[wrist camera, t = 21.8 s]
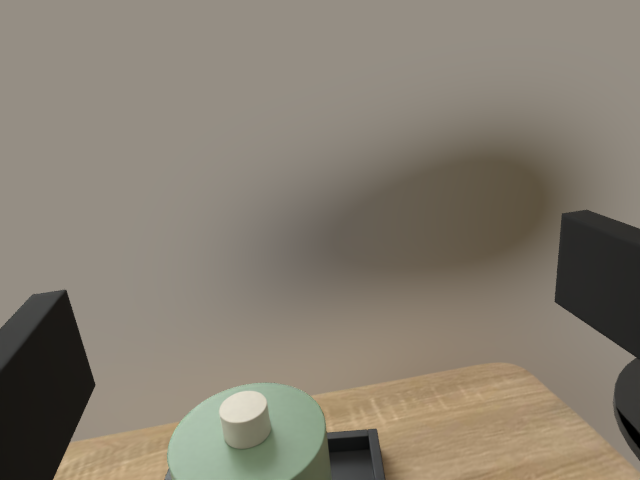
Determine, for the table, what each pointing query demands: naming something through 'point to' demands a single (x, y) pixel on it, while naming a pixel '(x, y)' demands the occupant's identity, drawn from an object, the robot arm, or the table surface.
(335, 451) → the tray
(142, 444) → the table surface
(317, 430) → the cover
